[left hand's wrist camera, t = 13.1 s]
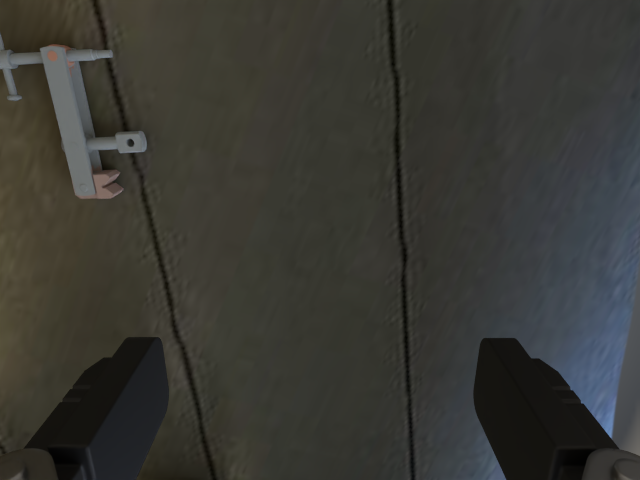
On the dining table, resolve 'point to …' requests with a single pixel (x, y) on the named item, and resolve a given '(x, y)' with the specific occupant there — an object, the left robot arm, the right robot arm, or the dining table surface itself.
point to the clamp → (75, 116)
